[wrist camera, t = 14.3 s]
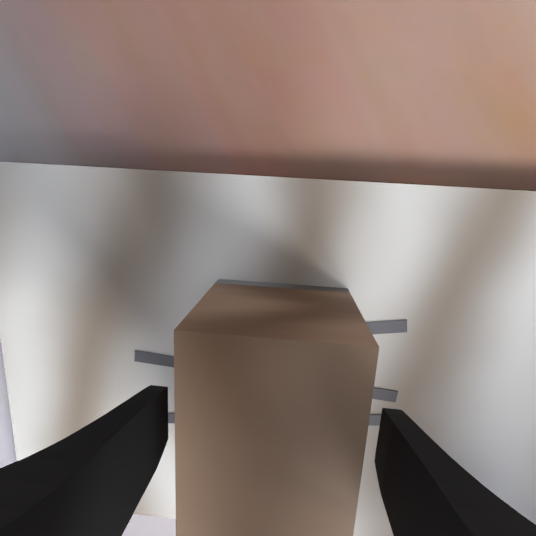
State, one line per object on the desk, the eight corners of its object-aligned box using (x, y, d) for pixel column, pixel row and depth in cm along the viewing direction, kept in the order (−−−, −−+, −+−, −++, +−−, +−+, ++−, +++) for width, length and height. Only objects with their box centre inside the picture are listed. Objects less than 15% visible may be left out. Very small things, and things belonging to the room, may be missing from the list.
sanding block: (347, 288, 13) (379, 347, 8) (325, 483, 15) (340, 624, 10) (218, 278, 13) (173, 330, 8) (214, 471, 15) (176, 602, 10)
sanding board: (610, 196, 13) (644, 197, 11) (515, 536, 16) (533, 563, 15) (2, 162, 14) (-25, 160, 13) (40, 479, 18) (21, 501, 17)
